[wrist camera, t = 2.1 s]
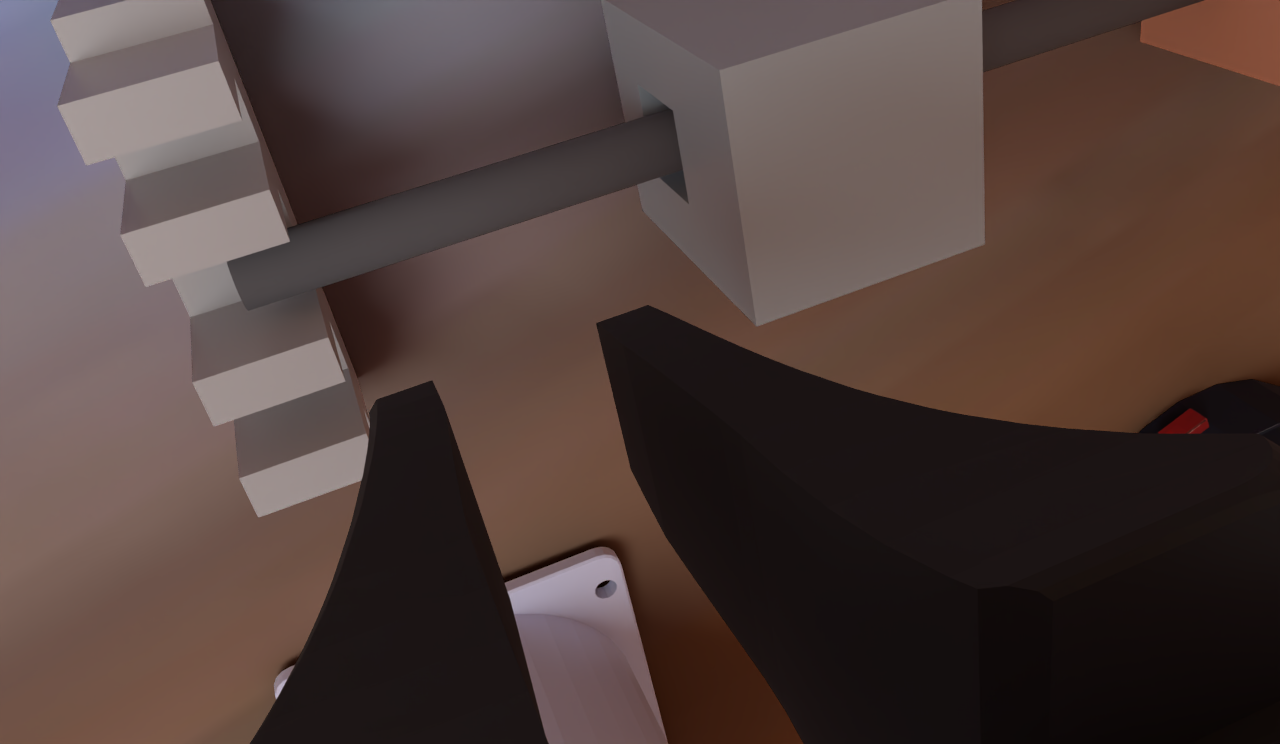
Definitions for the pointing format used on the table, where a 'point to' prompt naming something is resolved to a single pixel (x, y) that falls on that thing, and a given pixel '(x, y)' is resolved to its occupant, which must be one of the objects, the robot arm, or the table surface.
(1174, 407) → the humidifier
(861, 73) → the grey slotted cube
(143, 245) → the cable comb
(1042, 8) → the dark grey rod
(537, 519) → the table surface
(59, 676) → the table surface
